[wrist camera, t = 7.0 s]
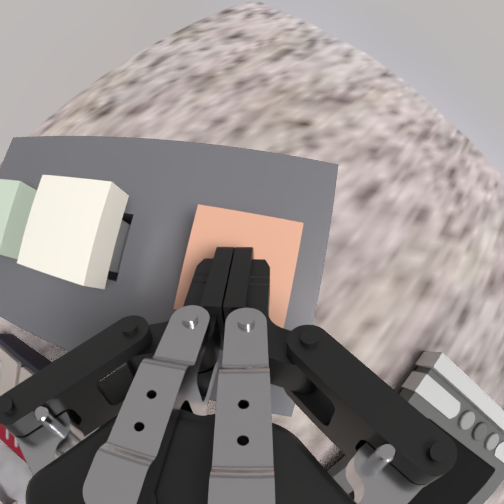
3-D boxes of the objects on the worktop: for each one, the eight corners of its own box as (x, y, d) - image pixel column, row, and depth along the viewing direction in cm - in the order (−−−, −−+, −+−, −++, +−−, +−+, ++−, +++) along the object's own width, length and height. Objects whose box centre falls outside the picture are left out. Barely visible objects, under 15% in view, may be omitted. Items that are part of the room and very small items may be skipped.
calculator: (-13, 331, 21) (102, 418, 18) (16, 332, 25) (129, 405, 22) (-20, 423, 19) (86, 513, 17) (6, 417, 23) (109, 494, 21)
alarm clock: (534, 442, 16) (423, 575, 13) (507, 434, 20) (407, 553, 17) (442, 352, 19) (291, 524, 16) (414, 350, 23) (287, 497, 20)
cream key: (71, 275, 19) (16, 263, 13) (90, 204, 20) (42, 174, 14) (133, 293, 18) (83, 285, 13) (152, 214, 19) (111, 181, 14)
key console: (18, 302, 25) (-33, 297, 18) (54, 167, 27) (13, 137, 20) (287, 386, 22) (291, 416, 15) (322, 204, 24) (338, 164, 17)
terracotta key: (201, 309, 19) (173, 308, 14) (218, 232, 20) (197, 204, 15) (280, 326, 19) (282, 333, 14) (296, 246, 20) (303, 223, 14)
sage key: (10, 254, 21) (-34, 241, 16) (26, 199, 22) (-16, 177, 17) (47, 266, 21) (-1, 254, 16) (63, 205, 22) (20, 180, 16)
